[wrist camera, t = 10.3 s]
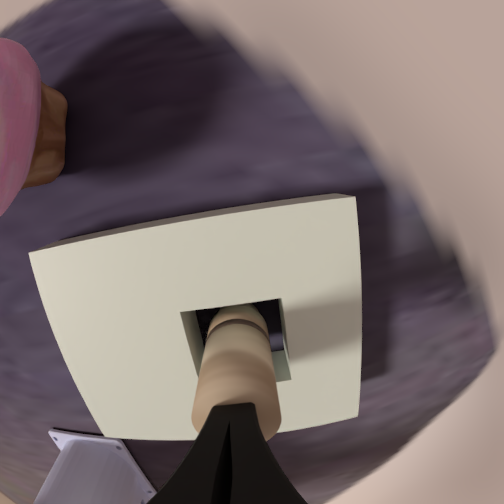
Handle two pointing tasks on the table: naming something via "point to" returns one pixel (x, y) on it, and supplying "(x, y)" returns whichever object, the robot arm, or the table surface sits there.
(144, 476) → the robot arm
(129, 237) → the board
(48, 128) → the cupcake
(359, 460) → the table surface
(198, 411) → the peg
